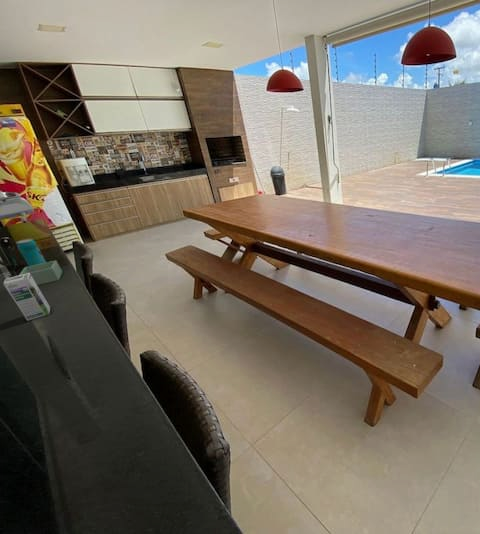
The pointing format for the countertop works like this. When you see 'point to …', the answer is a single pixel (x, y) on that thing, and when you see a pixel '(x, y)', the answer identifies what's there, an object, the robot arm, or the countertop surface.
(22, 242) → the teal tall block
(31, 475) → the countertop surface
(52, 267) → the bin
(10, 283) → the syrup box
